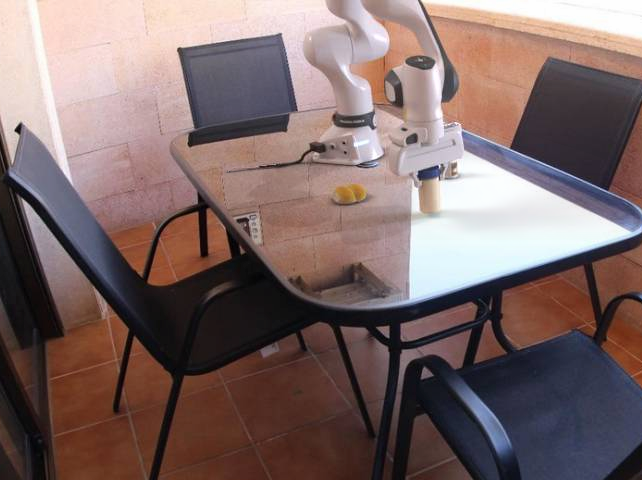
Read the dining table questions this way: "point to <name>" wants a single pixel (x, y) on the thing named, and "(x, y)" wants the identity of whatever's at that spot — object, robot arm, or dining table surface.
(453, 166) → the pill bottle
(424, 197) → the beige cylinder
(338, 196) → the bread roll
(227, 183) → the dining table surface
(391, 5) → the robot arm
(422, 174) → the lid
